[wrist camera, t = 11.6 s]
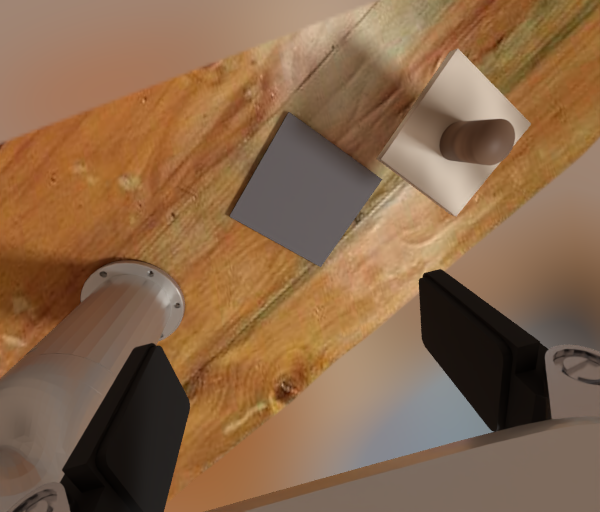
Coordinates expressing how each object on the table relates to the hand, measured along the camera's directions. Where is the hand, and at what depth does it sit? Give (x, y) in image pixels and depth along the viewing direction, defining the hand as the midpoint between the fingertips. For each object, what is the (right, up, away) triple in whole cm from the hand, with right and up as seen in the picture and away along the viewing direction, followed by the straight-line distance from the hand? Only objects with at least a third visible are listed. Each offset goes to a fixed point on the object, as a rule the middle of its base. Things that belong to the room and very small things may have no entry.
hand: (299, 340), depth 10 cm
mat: (+1, +10, +27) cm, 29 cm away
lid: (+15, +15, +19) cm, 29 cm away
